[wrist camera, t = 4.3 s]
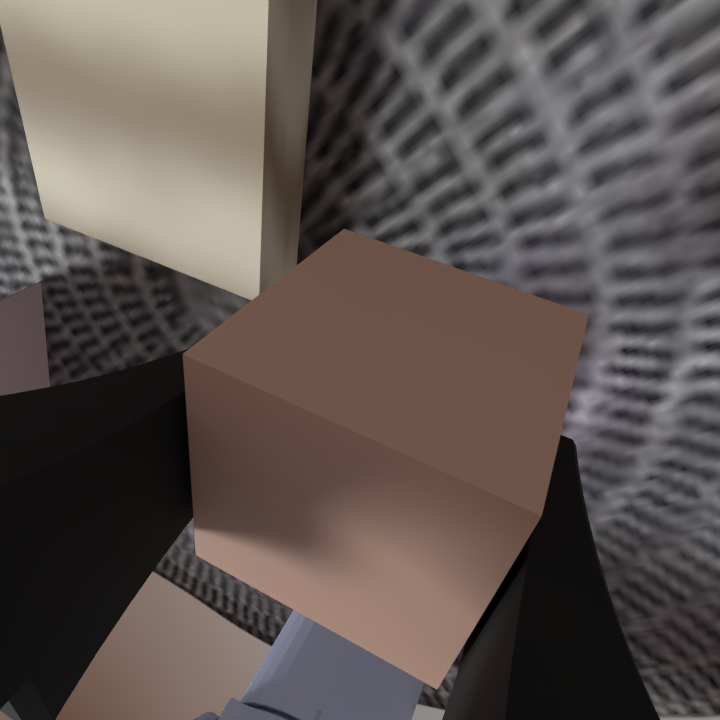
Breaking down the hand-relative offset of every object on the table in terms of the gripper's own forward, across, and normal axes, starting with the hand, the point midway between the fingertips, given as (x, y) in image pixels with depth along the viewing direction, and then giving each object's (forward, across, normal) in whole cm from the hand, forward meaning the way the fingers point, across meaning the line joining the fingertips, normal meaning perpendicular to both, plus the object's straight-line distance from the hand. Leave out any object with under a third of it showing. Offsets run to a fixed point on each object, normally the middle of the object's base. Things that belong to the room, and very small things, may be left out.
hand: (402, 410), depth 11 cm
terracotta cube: (+2, 0, 0) cm, 2 cm away
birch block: (+9, +12, -2) cm, 15 cm away
